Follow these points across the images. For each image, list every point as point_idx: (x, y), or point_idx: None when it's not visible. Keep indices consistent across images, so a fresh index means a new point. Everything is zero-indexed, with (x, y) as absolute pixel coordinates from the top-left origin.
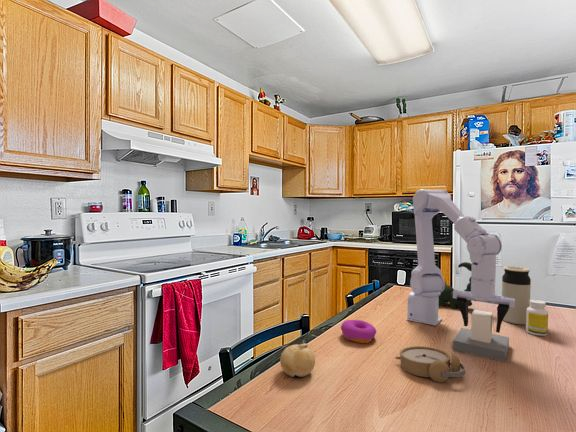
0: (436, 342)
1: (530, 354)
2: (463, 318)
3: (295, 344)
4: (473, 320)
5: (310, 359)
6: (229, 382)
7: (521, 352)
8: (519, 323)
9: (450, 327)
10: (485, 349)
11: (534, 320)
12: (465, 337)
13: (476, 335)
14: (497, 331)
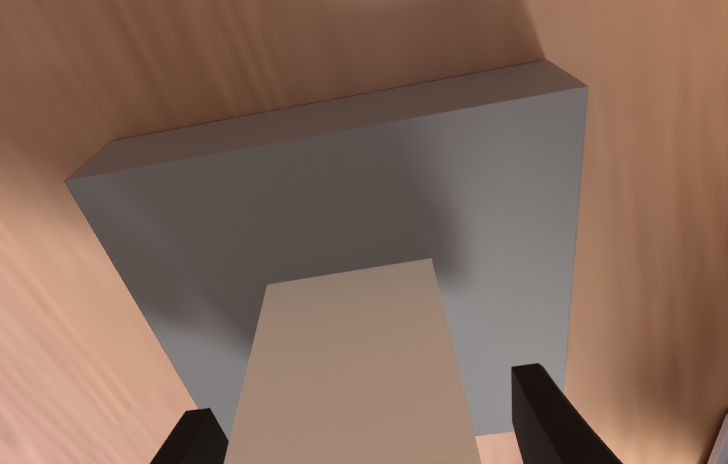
0: (713, 118)
1: (103, 381)
2: (593, 439)
3: None
4: (446, 444)
5: None
6: None
7: (150, 375)
8: None
9: (624, 443)
10: (245, 139)
11: None
12: (485, 264)
13: (385, 298)
14: (193, 417)
